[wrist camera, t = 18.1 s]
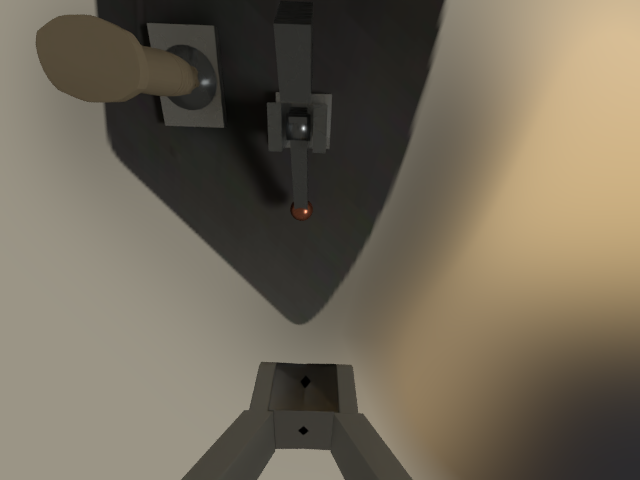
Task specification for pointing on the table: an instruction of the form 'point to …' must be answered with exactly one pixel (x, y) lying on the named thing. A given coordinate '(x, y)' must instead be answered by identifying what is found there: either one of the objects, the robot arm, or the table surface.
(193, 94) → the frame
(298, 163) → the lever
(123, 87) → the handle
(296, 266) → the table surface
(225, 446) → the robot arm
